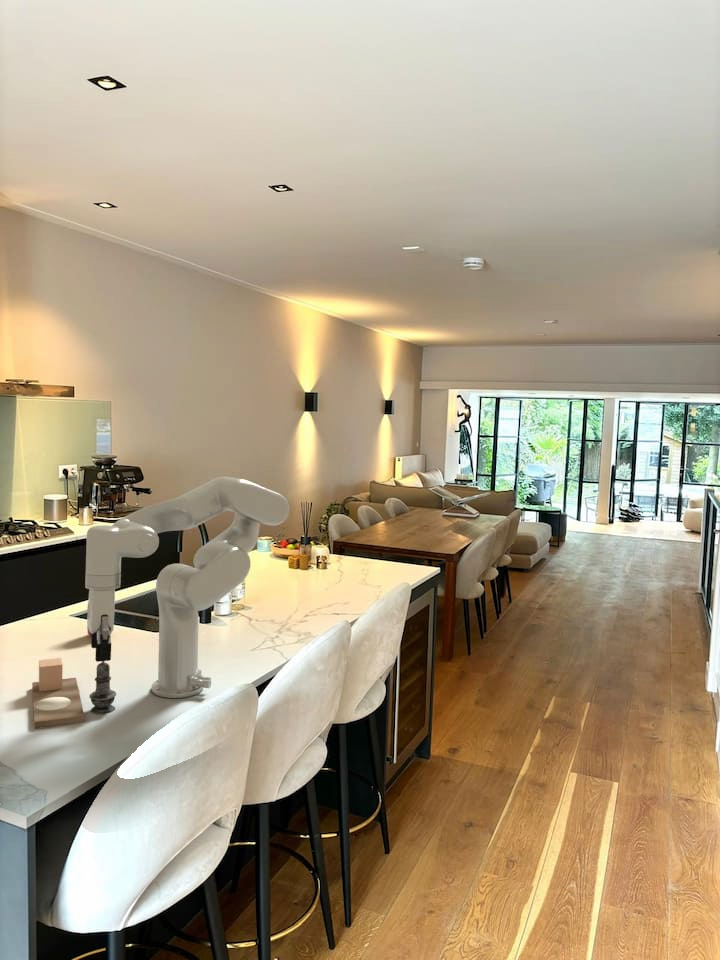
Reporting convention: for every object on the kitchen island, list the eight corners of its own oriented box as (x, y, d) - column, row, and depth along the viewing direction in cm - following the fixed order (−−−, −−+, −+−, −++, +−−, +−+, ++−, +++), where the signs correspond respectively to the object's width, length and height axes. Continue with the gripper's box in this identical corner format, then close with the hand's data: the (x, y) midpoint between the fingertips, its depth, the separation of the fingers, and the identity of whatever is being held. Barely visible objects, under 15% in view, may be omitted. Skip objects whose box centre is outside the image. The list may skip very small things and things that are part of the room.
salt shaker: (107, 702, 170) (107, 653, 169) (121, 709, 166) (121, 659, 165) (84, 709, 165) (84, 659, 164) (98, 717, 162) (98, 665, 160)
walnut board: (32, 688, 176) (32, 682, 176) (75, 683, 180) (75, 677, 180) (34, 728, 154) (34, 721, 154) (84, 721, 159) (84, 715, 159)
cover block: (38, 684, 175) (38, 660, 175) (60, 681, 177) (60, 657, 177) (39, 691, 171) (39, 667, 170) (62, 688, 173) (62, 664, 172)
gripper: (82, 572, 169) (80, 643, 170) (89, 590, 153) (86, 667, 155) (115, 571, 172) (113, 641, 173) (125, 588, 157) (122, 664, 158)
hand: (100, 653), depth 164 cm, fingers open, 9 cm apart
